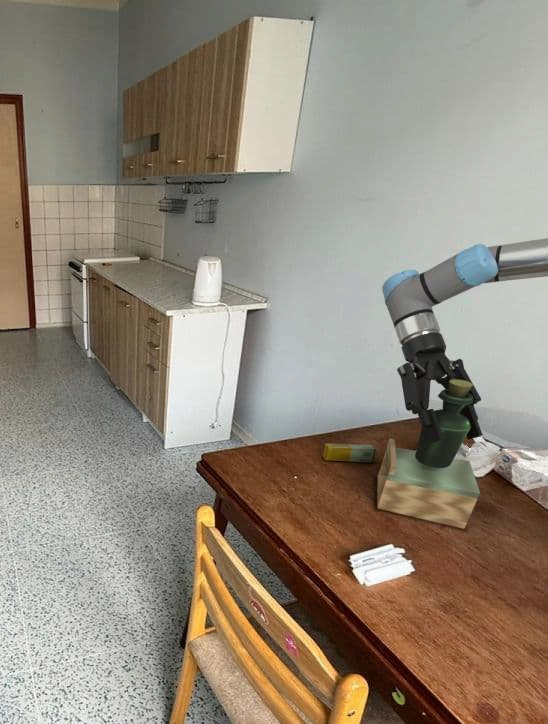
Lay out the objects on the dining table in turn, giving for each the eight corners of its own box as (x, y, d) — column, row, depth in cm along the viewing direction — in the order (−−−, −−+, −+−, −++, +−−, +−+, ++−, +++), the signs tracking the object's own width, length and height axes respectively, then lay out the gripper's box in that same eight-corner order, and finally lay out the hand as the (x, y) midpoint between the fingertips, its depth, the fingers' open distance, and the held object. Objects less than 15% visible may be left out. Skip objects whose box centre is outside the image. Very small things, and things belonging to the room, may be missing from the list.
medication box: (369, 458, 123) (372, 444, 122) (373, 463, 121) (377, 448, 119) (321, 456, 124) (324, 442, 123) (325, 460, 122) (328, 446, 120)
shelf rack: (455, 494, 109) (472, 453, 103) (464, 528, 98) (484, 484, 93) (377, 477, 115) (389, 438, 110) (377, 508, 104) (391, 466, 99)
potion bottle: (464, 469, 98) (497, 389, 90) (427, 472, 98) (457, 391, 89) (436, 450, 105) (464, 374, 97) (401, 452, 105) (427, 376, 96)
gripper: (449, 344, 107) (485, 440, 100) (365, 350, 104) (396, 449, 97) (477, 327, 100) (518, 428, 93) (388, 333, 97) (424, 438, 90)
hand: (456, 439), depth 95 cm, fingers closed on potion bottle, 8 cm apart
